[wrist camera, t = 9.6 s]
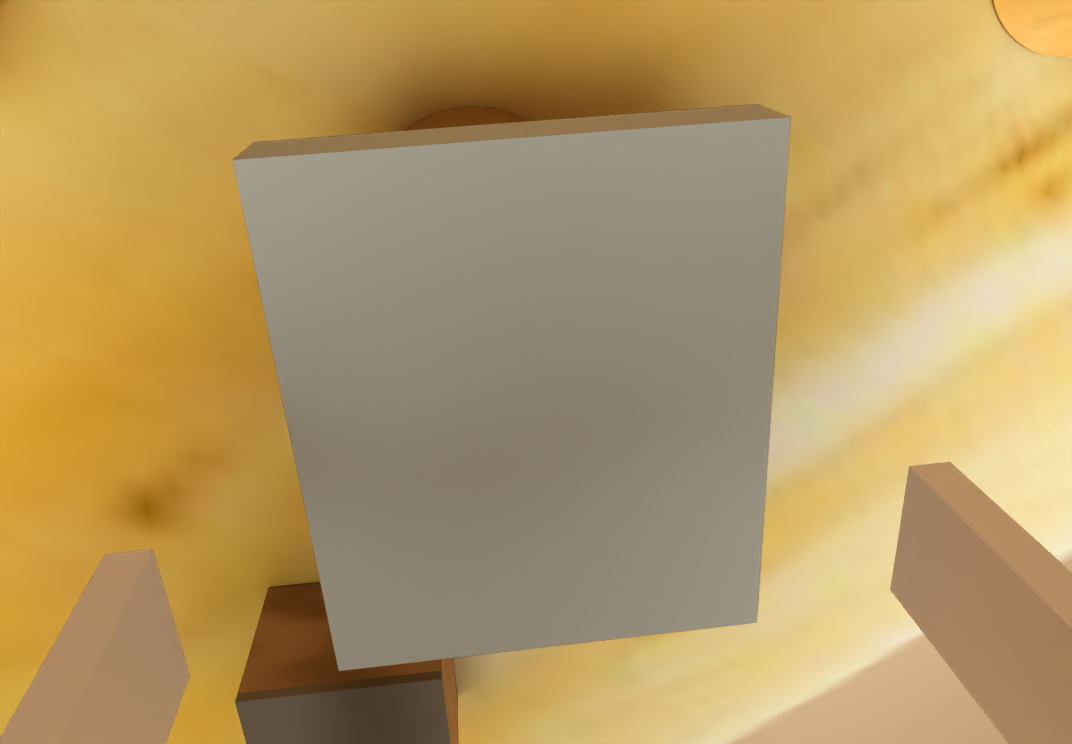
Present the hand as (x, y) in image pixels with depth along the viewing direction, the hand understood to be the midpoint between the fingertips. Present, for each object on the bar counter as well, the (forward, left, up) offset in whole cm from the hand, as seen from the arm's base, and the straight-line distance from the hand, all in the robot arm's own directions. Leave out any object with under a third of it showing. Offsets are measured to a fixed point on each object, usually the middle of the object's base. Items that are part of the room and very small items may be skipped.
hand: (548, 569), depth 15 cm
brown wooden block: (-7, -16, -16) cm, 24 cm away
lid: (0, 0, -7) cm, 7 cm away
